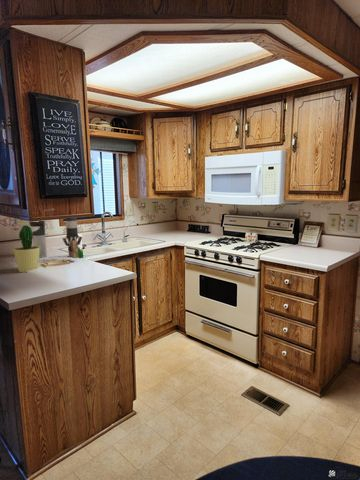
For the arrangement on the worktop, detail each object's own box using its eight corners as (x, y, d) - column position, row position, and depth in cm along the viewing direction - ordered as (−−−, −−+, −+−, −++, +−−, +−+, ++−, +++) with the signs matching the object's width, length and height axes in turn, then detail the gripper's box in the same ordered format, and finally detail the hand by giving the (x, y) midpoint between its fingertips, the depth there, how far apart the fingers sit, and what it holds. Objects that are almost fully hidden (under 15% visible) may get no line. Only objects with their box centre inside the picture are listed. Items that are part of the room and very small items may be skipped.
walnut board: (74, 258, 221) (73, 241, 219) (68, 256, 229) (67, 239, 227) (78, 257, 223) (77, 240, 221) (72, 255, 231) (71, 239, 229)
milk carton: (68, 258, 243) (66, 232, 241) (78, 256, 250) (77, 231, 247) (74, 259, 238) (73, 233, 235) (85, 257, 245) (83, 231, 242)
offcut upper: (45, 265, 215) (45, 262, 215) (60, 262, 223) (60, 259, 223) (48, 265, 213) (48, 263, 213) (63, 262, 221) (63, 260, 221)
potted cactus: (16, 268, 209) (12, 223, 205) (42, 266, 215) (38, 222, 210) (13, 274, 195) (9, 225, 191) (40, 271, 200) (37, 224, 196)
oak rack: (41, 266, 216) (40, 262, 216) (64, 262, 226) (64, 259, 226) (46, 269, 208) (45, 265, 207) (70, 265, 218) (70, 261, 217)
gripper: (63, 228, 215) (65, 253, 218) (83, 226, 224) (84, 250, 227) (59, 227, 221) (61, 251, 224) (79, 226, 230) (80, 249, 232)
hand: (73, 251), depth 225 cm, fingers closed on walnut board, 3 cm apart
